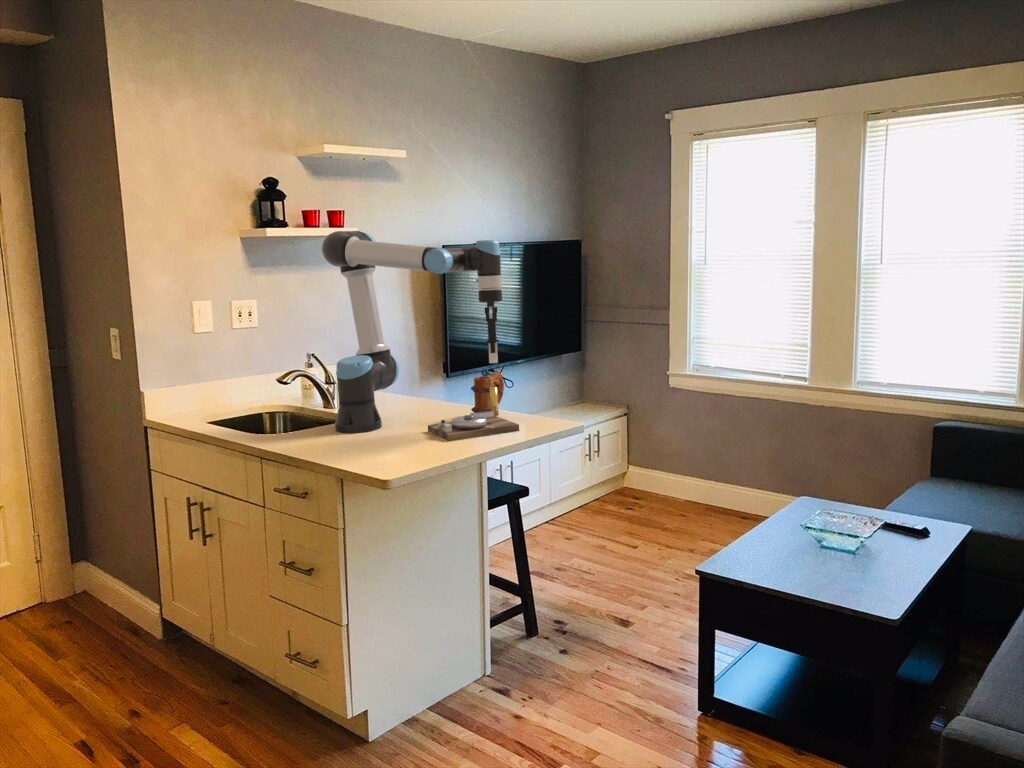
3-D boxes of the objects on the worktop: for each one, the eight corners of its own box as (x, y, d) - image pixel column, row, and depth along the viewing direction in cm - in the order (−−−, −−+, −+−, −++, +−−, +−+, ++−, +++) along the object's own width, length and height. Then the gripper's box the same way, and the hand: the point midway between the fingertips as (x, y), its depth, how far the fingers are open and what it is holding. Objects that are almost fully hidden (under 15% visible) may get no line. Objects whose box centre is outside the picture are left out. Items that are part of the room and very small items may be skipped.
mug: (485, 422, 275) (483, 377, 273) (467, 420, 280) (465, 376, 277) (512, 414, 286) (510, 371, 284) (494, 412, 291) (492, 370, 289)
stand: (428, 431, 264) (427, 416, 264) (495, 421, 275) (494, 406, 274) (449, 441, 249) (448, 425, 248) (519, 430, 260) (519, 415, 259)
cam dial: (460, 430, 252) (458, 395, 251) (446, 424, 262) (444, 390, 260) (506, 423, 260) (504, 389, 258) (490, 418, 269) (489, 384, 267)
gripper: (479, 288, 269) (482, 360, 273) (477, 290, 257) (481, 366, 260) (502, 287, 269) (505, 359, 273) (501, 289, 257) (505, 364, 260)
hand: (493, 362), depth 267 cm, fingers closed
